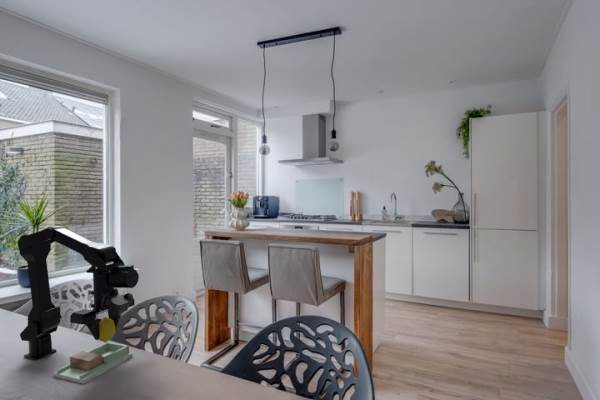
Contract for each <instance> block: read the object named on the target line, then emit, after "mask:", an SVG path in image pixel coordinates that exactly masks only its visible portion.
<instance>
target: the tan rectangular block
mask: <svg viewBox="0 0 600 400" xmlns="http://www.w3.org/2000/svg"><path fill="white" fill-rule="evenodd" d="M69 364H70V367H73V368H77V369H82V370H86V371H89V370H91V369H93V368H95V367H97V366H99V365H101V364H102V355H100V354H95V353H90V352H87V351H84V350H82V351H80V352H78V353H75V354H73V355H71V356H70V357H69Z"/></svg>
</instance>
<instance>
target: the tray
mask: <svg viewBox="0 0 600 400" xmlns="http://www.w3.org/2000/svg"><path fill="white" fill-rule="evenodd" d="M86 352H90V353H95V354H100V355H102V364H101V365H99V366H97V367H95V368H93V369H91V370H89V371H86V370H82V369H77V368H73V367H70V363H69V364H67V365H64V366H63V367H60V368H58V369H57V370H56V371H54V372H53V373H52V375H53V377H54V378H59V379H62V380H63V379H64V380H68V381H71V382H74V383H79V384H82V385H84V384H85V383H87V382H89V381H91V380H93V379H94V378H97V377H99V376H100V375H102V374H104V373H105V372H107V371H109V370H111V369H113V368H114V367H116V366H117V365H120V364H121V363H123V362H125V361H126V360H128V359H130V358H132V357H133V356H134V355H133V352H130V346H129V344H123V343H118V342H112V341H107V342H106V343H105V342H103V343H102V344H100V345H97V346H96V347H93V348H91V349H89V350H87V351H86Z"/></svg>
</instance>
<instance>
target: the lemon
mask: <svg viewBox="0 0 600 400" xmlns="http://www.w3.org/2000/svg"><path fill="white" fill-rule="evenodd" d="M101 319H102V320H101V322H100V323H99V340H98V341H99V342H103V343H106V342H109V340H111V339H113V338H114V336H115V333H116V331H115V324H114V321H113V320H112V319H110V318H109V317H107V316H105V317H103V318H101Z"/></svg>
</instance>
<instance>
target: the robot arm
mask: <svg viewBox="0 0 600 400" xmlns="http://www.w3.org/2000/svg"><path fill="white" fill-rule="evenodd" d="M55 242H56V243H58V244H59V245H62V246H63V247H65V248H68V249H69V250H71V251H73V252H75V253H78V254H80V255H81V256H82V257H83V260H84V261H85V262H87V263H88V264H89V265H90V267H89V268H88V269H86V271H85V272H86V273H87V274H92V285H93V286H92V287H93V290H90V295H93V303H91V304H90V308H91V309H86V308H83V309H78V310H76V311H74V312H71V314H70V316H69V319H70V320H69V323H72V324H77V325H85V326H86V327H87V328H88V330H89V332H90V333H91V335H92V337H93V338H94V340H95V341H100V340H99V323H100V322H101V320H102V319H103V318H99V315H101V314H104V313H105V312H107V315H108V318H110V319H112V320H113V321H114V324H115V332H116V330H117V328H118V325H119V323H120V322H119V321H120V319H121V317H122V315H123V314H124V313H125V312H127V311H128V310H129V308H132V307H133V306H135V305H136V304H135V298H134V296H133V295H134V294H133V293H132V292H128V293H125V294H121V295H120V294H119V290H118V288H121V289H122V288H123V289H134V288H135V287H136V286H137V285H138V283H139V279H140V278H139V277H140V275H139V273H138V270H137V269H135V266H134V264H129V265H125V262H124V261H123V259H122V258H121V256H120V255H119V254H118V252H117V249H116V248H115V246H114V245H111V244H107V243H102V242H95V241H92V240H89V239H88V238H85V237H83V236H81V235H79V234H77V233H75V232H73V231H71V230H69V229H67V228H66V227H65V226H62V225H54V226H48V227H45V228H44V229H42V230H39V231H36V232H33V233H28V234H22V235H21V236H20V238H18V240H17V248H18V252H19V255H20V256H21V257H22V258H23V259H24V260H25V261H26V264H27V271H28V279H29V287H30V294H31V295H30V297H31V304H32V307H31V309H30V311H29V313H28V315H27V326H25V327H24V329H23V330H22V331H21V333H19V337H20V340H21V341H23V342H28V353H26V354H24V355H23V357H24V358H27V359H29V360H30V359H32V360H34V361H35V360H36V361H38V360H39V359H40V360H41V359H42V358H44V357H46V356H49V355H52V354H54V353H56V352H57V349H54V348H53V344H52V343H53V342H52V341H53V340H52V333H55V332H57V331H58V328H59V325H60V323H61V319H62V313H61V307H60V306H55V304H54V303H53V302H52V296H51V295H52V294H51V288H50V279H49V270H48V264H47V263H48V262H47V261H48V260H47V258H48V256H49V255H50V252H51V249H52V244H53V243H55Z"/></svg>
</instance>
